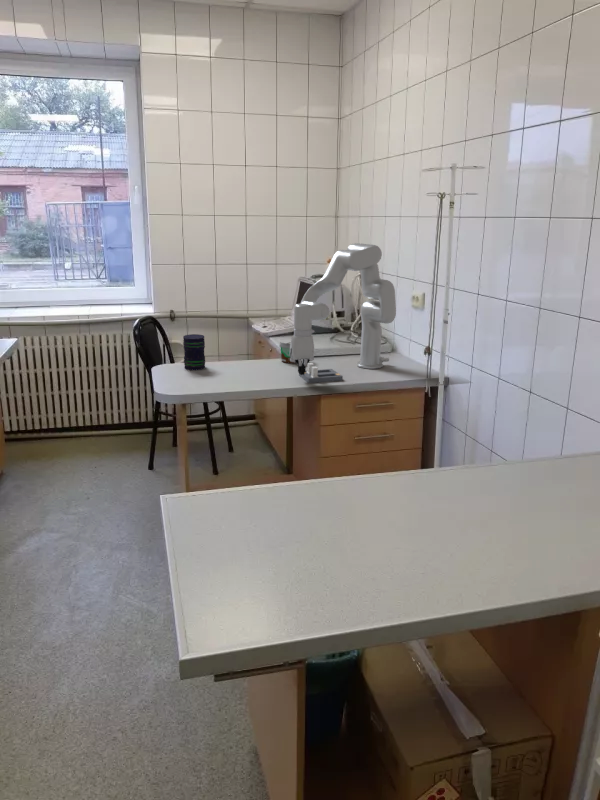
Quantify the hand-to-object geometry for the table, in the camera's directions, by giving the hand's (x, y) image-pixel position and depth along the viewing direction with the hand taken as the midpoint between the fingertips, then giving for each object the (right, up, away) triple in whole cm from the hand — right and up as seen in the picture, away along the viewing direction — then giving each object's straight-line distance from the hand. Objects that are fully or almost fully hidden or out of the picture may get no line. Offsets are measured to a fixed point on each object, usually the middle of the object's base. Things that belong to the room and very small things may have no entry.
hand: (301, 374), depth 271 cm
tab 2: (+6, -2, +3) cm, 6 cm away
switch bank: (+8, -1, +7) cm, 11 cm away
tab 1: (+4, 0, +9) cm, 10 cm away
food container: (-4, +7, +33) cm, 34 cm away
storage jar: (-50, +4, +20) cm, 54 cm away
